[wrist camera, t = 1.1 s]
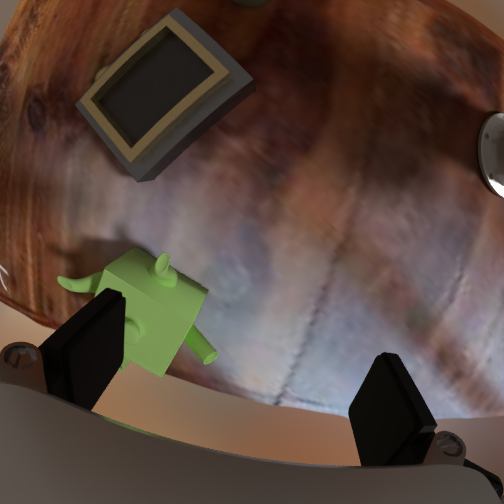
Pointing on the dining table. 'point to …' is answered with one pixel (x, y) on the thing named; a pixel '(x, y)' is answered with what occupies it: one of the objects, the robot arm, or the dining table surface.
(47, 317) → the dining table surface
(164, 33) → the toy stove
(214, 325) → the dining table surface
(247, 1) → the pale green cup
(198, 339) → the kettle
